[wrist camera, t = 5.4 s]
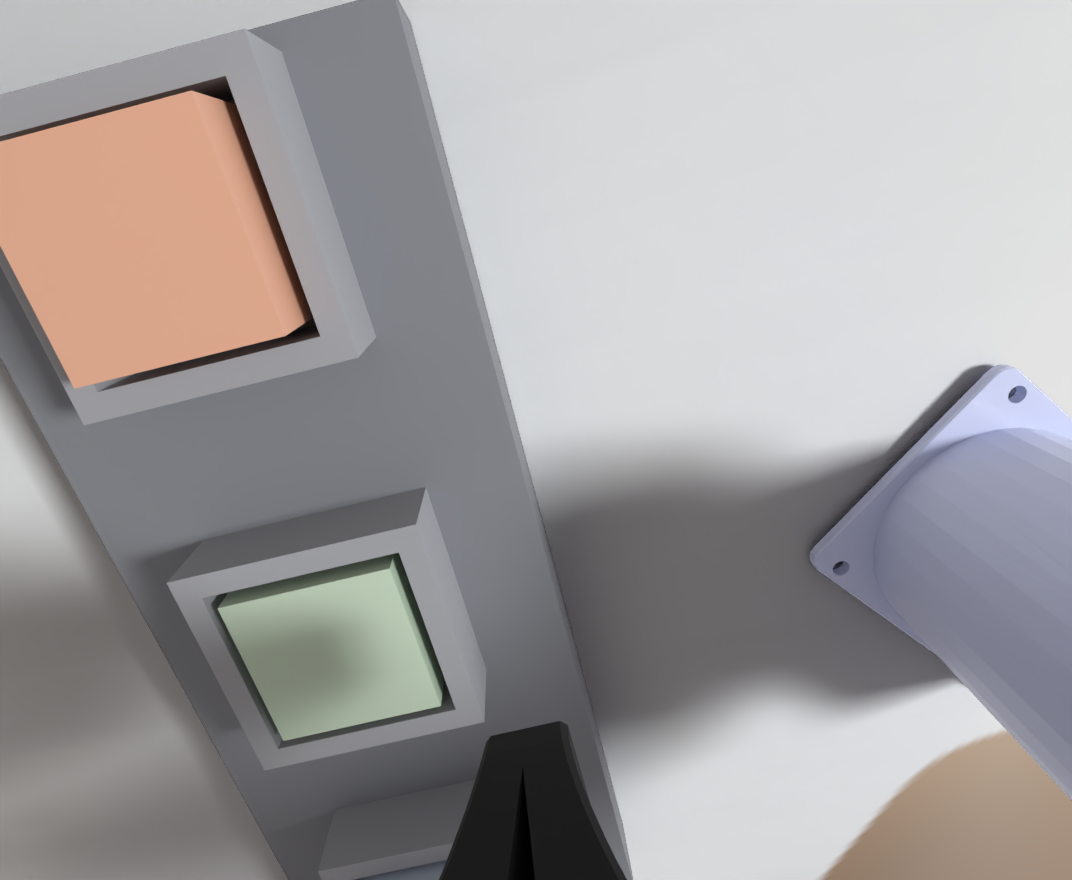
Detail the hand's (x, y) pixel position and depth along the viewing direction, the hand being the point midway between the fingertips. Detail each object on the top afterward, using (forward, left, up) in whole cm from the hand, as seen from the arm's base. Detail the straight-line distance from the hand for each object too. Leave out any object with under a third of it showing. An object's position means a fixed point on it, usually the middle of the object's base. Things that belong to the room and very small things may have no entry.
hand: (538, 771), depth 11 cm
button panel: (+3, +4, -9) cm, 11 cm away
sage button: (+3, +4, -7) cm, 8 cm away
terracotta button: (+11, -2, -6) cm, 12 cm away
